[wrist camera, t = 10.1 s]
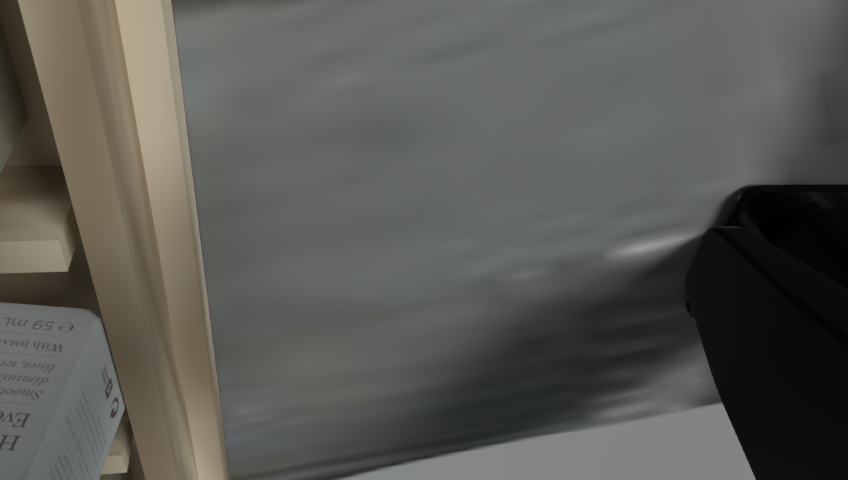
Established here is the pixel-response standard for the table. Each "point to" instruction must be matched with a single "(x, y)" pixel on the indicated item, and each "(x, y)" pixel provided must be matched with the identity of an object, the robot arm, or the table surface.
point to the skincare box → (56, 393)
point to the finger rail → (112, 215)
